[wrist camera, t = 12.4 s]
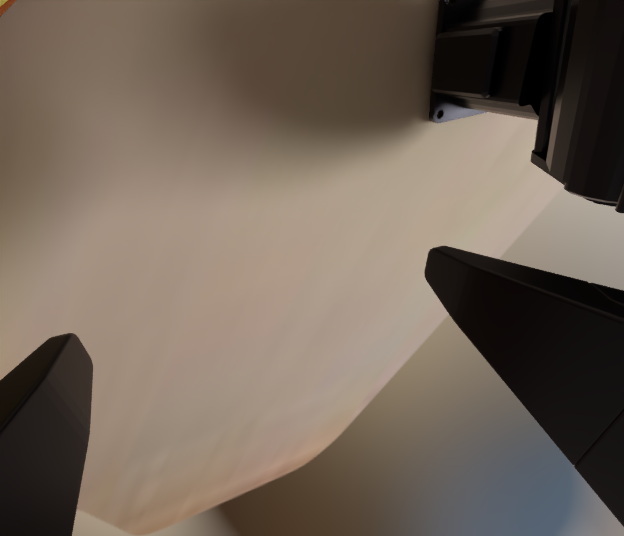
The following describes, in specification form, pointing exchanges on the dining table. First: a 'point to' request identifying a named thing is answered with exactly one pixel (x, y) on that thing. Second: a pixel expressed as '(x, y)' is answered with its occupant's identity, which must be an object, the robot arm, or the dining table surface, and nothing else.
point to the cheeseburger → (5, 5)
